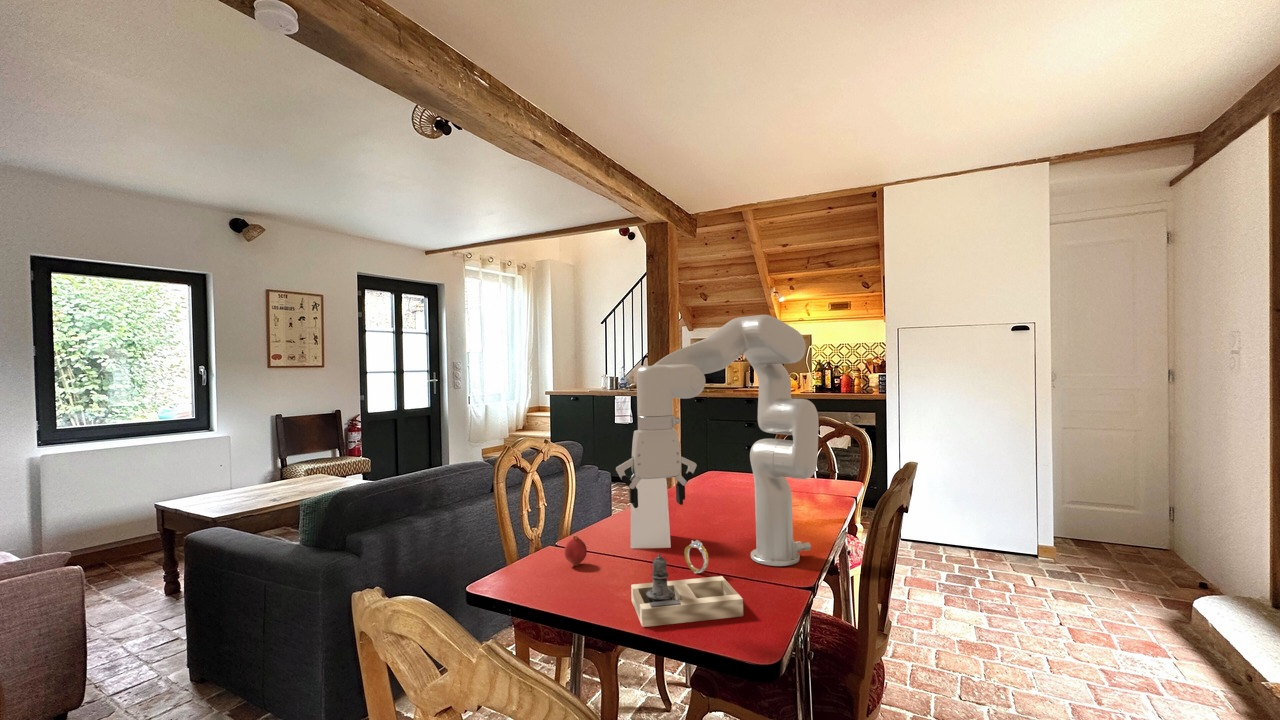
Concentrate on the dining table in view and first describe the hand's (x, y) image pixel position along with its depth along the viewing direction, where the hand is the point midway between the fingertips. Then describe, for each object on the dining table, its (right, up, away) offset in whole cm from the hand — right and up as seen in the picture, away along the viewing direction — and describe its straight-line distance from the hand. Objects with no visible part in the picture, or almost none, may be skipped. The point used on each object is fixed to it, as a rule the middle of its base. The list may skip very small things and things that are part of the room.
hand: (657, 504), depth 117 cm
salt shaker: (+1, -22, 0) cm, 22 cm away
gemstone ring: (+10, -23, +21) cm, 32 cm away
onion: (-21, -23, +28) cm, 42 cm away
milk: (-1, -23, +47) cm, 53 cm away
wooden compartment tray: (+6, -22, +1) cm, 23 cm away
